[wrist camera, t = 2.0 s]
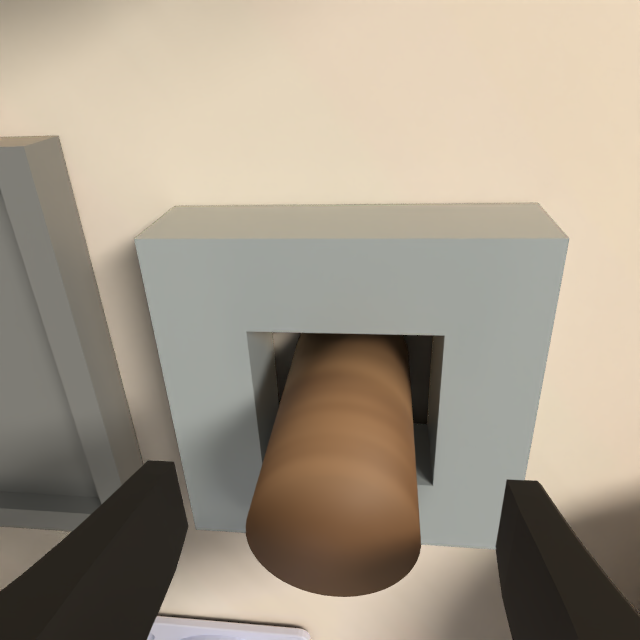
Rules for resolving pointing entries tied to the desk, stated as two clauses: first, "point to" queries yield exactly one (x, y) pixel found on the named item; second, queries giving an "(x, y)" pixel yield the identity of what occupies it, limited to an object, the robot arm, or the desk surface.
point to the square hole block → (357, 318)
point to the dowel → (340, 469)
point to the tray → (54, 353)
